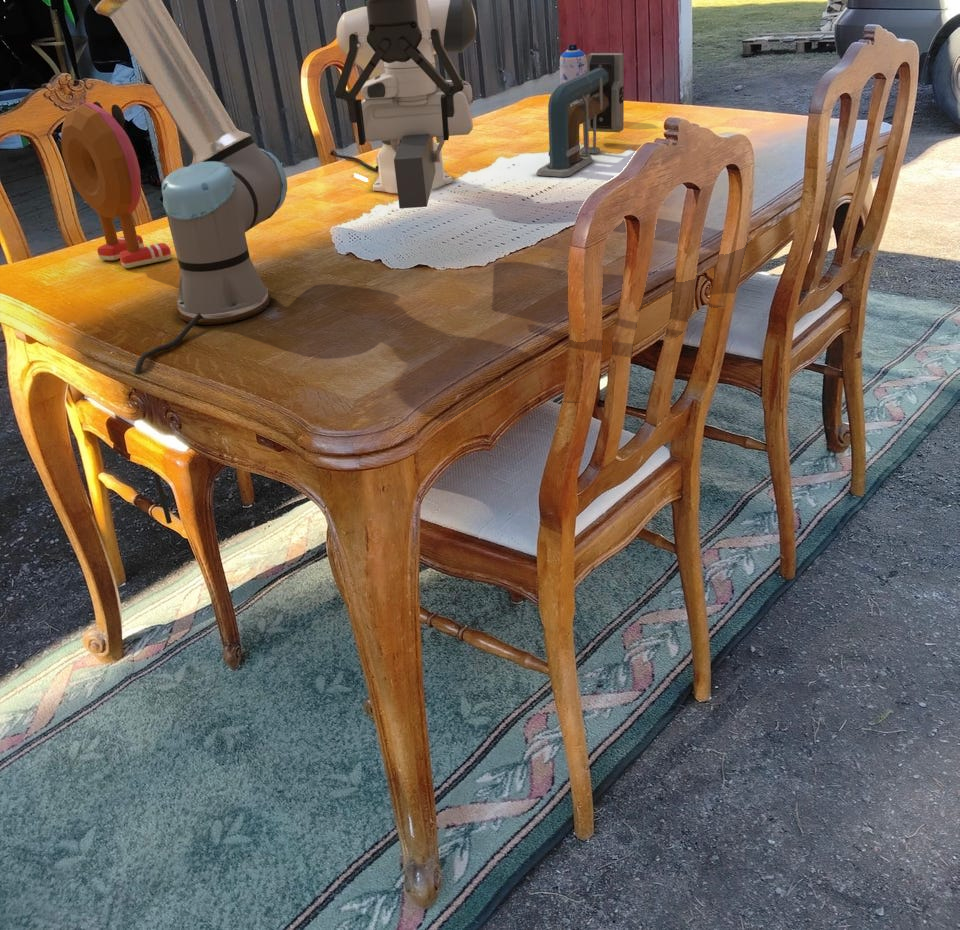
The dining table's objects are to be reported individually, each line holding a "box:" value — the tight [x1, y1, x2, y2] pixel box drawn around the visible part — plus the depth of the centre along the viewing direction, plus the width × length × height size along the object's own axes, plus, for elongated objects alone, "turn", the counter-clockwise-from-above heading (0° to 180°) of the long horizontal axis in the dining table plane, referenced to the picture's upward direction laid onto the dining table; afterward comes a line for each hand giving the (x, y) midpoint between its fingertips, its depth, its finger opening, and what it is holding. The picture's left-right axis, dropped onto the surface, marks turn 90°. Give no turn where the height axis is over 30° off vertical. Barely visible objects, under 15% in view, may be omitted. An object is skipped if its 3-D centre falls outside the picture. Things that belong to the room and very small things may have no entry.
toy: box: [60, 101, 172, 269], centre depth 187 cm, size 21×10×30 cm, turn 47°
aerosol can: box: [559, 43, 587, 107], centre depth 273 cm, size 8×8×20 cm
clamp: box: [535, 52, 625, 178], centre depth 233 cm, size 35×9×21 cm, turn 151°
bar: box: [394, 134, 436, 209], centre depth 168 cm, size 23×5×8 cm, turn 179°
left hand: (404, 141), depth 156 cm, fingers open, 13 cm apart
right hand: (419, 162), depth 175 cm, fingers closed on bar, 4 cm apart
